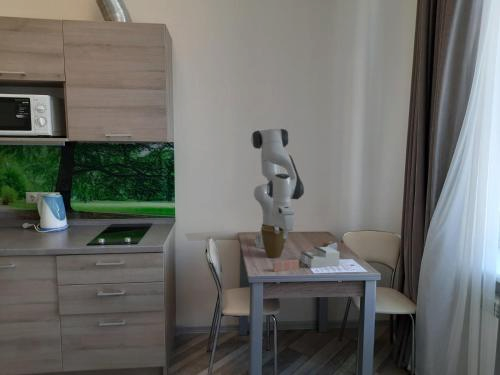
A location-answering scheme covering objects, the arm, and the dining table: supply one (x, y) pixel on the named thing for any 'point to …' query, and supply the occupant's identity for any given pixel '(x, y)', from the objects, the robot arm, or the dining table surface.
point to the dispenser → (321, 257)
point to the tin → (331, 244)
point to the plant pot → (273, 241)
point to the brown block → (285, 265)
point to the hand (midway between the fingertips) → (280, 235)
